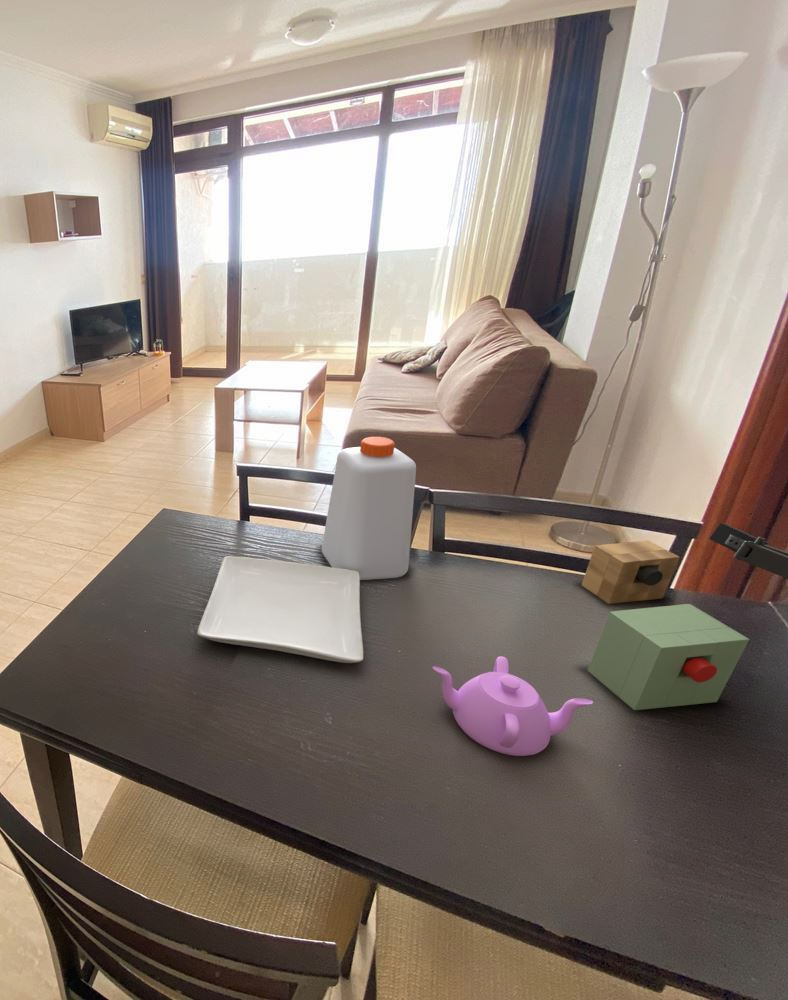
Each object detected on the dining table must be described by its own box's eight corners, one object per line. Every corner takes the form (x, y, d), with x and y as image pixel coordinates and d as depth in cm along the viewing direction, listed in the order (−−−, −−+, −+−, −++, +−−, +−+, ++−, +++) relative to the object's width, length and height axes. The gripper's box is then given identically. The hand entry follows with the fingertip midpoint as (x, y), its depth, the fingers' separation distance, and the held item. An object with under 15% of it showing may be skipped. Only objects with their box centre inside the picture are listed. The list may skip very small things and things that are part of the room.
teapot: (575, 749, 72) (594, 701, 69) (489, 777, 70) (504, 728, 66) (499, 687, 83) (512, 642, 79) (422, 709, 80) (431, 663, 77)
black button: (642, 586, 94) (648, 572, 93) (634, 581, 96) (640, 567, 94) (659, 584, 94) (665, 570, 93) (651, 579, 96) (656, 565, 94)
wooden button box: (607, 606, 97) (623, 562, 93) (580, 588, 103) (594, 545, 99) (661, 601, 98) (680, 556, 94) (631, 583, 103) (648, 540, 99)
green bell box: (632, 713, 77) (661, 648, 72) (586, 673, 84) (609, 611, 79) (715, 705, 77) (749, 639, 72) (661, 666, 84) (689, 603, 79)
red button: (690, 683, 73) (698, 666, 71) (678, 675, 74) (686, 658, 73) (712, 681, 73) (721, 664, 71) (700, 673, 74) (708, 656, 73)
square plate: (224, 568, 119) (224, 553, 117) (358, 585, 110) (360, 569, 108) (196, 648, 96) (195, 631, 95) (361, 678, 87) (364, 659, 85)
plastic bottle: (340, 585, 110) (354, 457, 98) (315, 548, 124) (325, 432, 112) (415, 579, 110) (438, 451, 98) (381, 543, 123) (398, 426, 111)
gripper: (802, 625, 60) (661, 544, 80) (1052, 684, 58) (843, 586, 78) (849, 568, 57) (691, 498, 77) (1114, 628, 55) (881, 540, 75)
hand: (767, 542), depth 77 cm, fingers open, 13 cm apart
